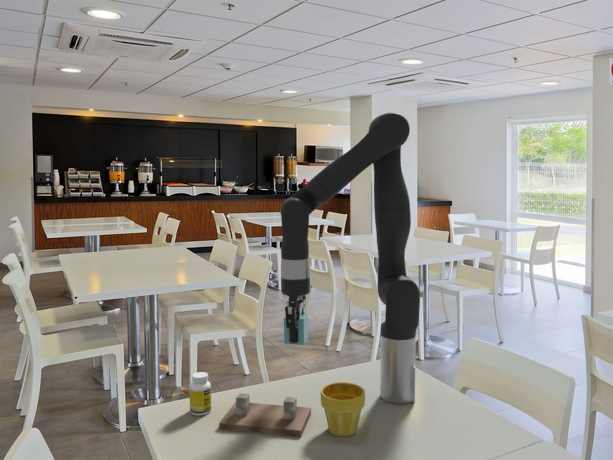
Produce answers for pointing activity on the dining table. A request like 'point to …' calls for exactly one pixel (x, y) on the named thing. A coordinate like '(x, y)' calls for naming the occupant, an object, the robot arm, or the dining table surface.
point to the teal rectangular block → (301, 330)
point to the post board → (266, 417)
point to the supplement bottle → (200, 394)
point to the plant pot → (342, 407)
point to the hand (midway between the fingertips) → (296, 338)
